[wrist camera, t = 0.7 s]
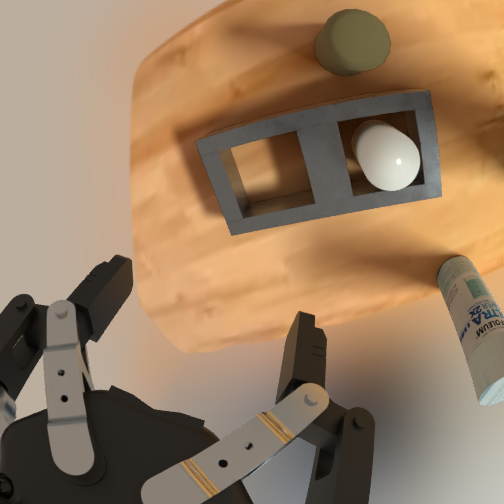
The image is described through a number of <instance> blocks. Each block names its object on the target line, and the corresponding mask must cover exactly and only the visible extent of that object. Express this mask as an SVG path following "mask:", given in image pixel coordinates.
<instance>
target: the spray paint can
mask: <svg viewBox="0 0 504 504" xmlns="http://www.w3.org/2000/svg"><path fill="white" fill-rule="evenodd" d="M437 282H438V286H439V288H440V291H441V293H442V295H443V298H444V300H445V302H446V305H447V307H448V310H449V312H450V315H451V318H452V320H453V323H454V326H455V328H456V331H457V334H458V336H459V339H460V342H461V345H462V348H463V351H464V354H465V357H466V360H467V363H468V366H469V370H470V373H471V377H472V380H473V384H474V387H475V391H476V395H477V399H478V401H479V404H481V405H492V404H496V403H498V402H501V401H503V400H504V316H503V314H502V312H501V310H500V308H499V307H498V305H497V303H496V301H495V300H494V298H493V296H492V294H491V292H490V291H489V289H488V287H487V286H486V284H485V282H484V281H483V279H482V277H481V276H480V274H479V272H478V271H477V269H476V268H475V266H474V265H473V263H472V262H471V261H470V260H469V259H468V258H467V257H465V256H455V257H453V258H450V259H449V260H447V261H446V262H445V263H444V264H443V265H442V266H441V268H440V269H439V272H438V274H437Z"/></svg>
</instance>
